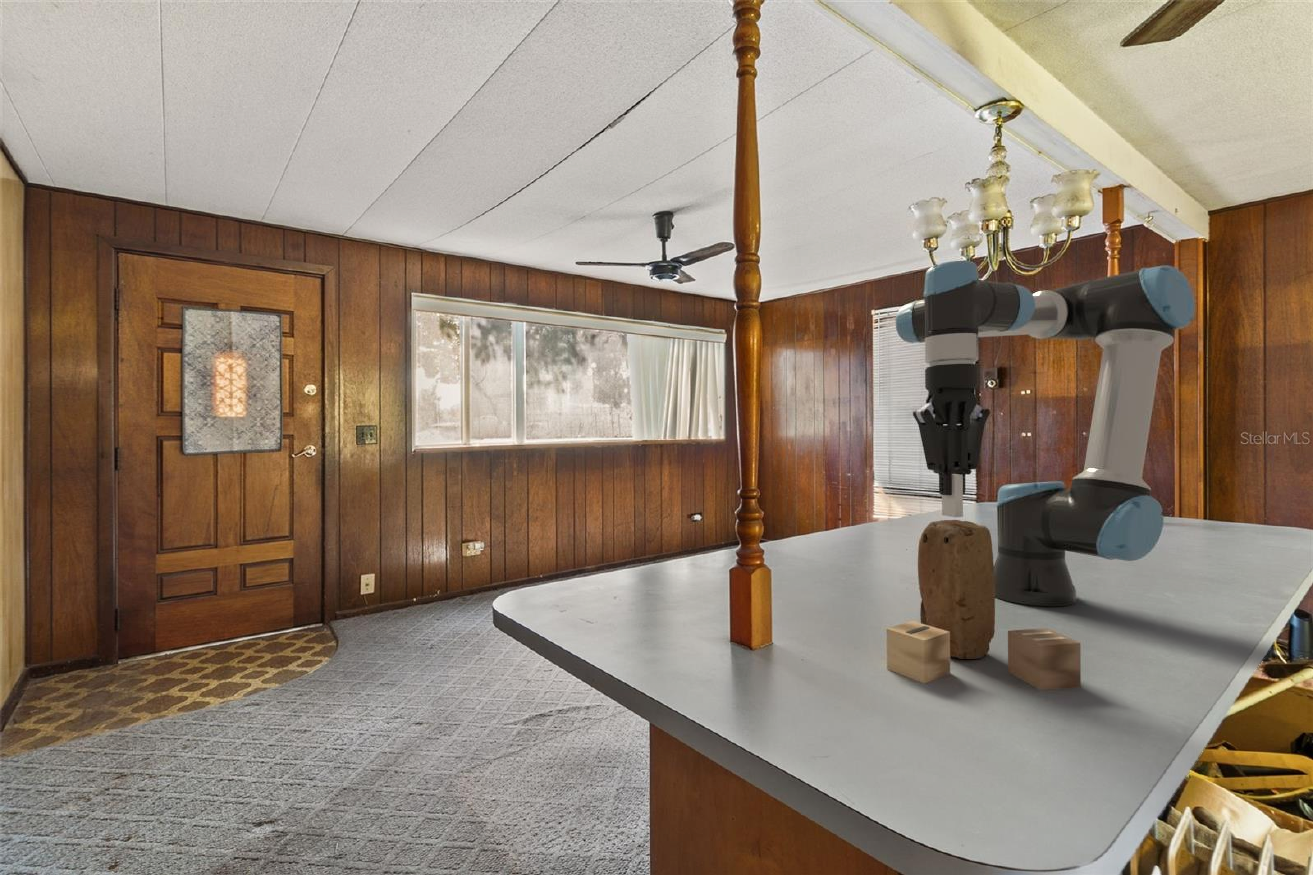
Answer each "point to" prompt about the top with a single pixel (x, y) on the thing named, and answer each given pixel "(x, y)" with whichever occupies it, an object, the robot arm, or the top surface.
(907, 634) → the cube one stripe
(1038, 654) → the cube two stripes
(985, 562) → the block
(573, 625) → the top surface
